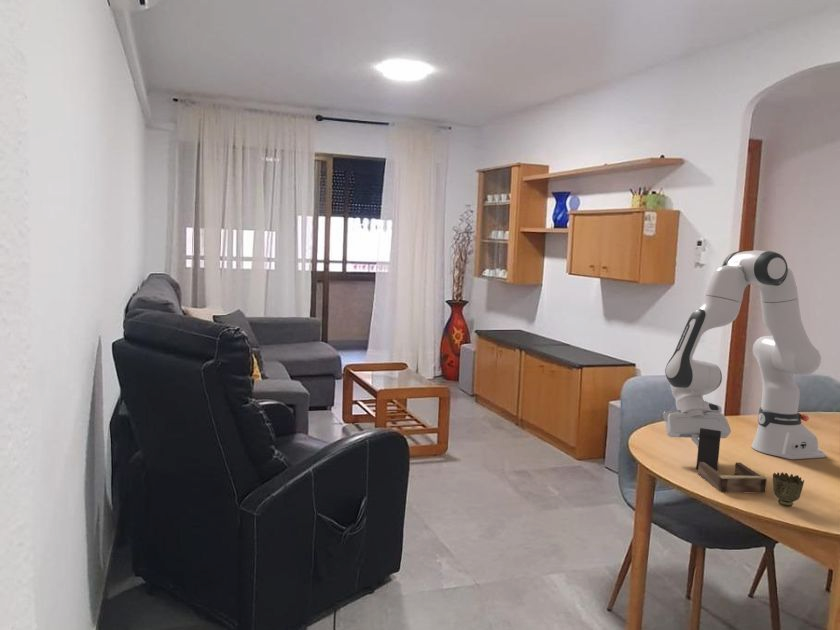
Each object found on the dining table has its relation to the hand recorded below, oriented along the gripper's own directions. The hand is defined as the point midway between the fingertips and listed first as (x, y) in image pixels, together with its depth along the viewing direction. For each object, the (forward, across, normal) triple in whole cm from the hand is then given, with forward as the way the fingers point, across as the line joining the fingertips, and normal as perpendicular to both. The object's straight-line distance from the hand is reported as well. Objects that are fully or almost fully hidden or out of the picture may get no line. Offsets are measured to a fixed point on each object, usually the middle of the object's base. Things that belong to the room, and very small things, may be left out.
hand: (703, 448), depth 209 cm
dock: (+14, 0, -8) cm, 16 cm away
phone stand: (+6, 0, +2) cm, 6 cm away
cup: (+26, +7, -19) cm, 33 cm away
